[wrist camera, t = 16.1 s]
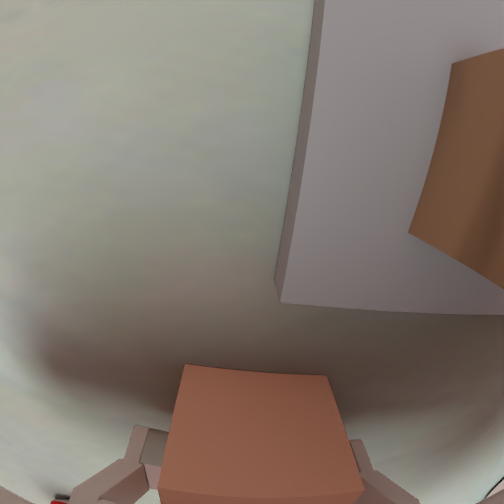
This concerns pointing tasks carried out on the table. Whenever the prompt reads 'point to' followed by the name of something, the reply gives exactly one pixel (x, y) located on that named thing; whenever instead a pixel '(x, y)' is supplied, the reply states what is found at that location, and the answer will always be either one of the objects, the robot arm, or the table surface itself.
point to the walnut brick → (468, 170)
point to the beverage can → (60, 501)
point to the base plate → (378, 157)
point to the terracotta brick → (257, 441)
